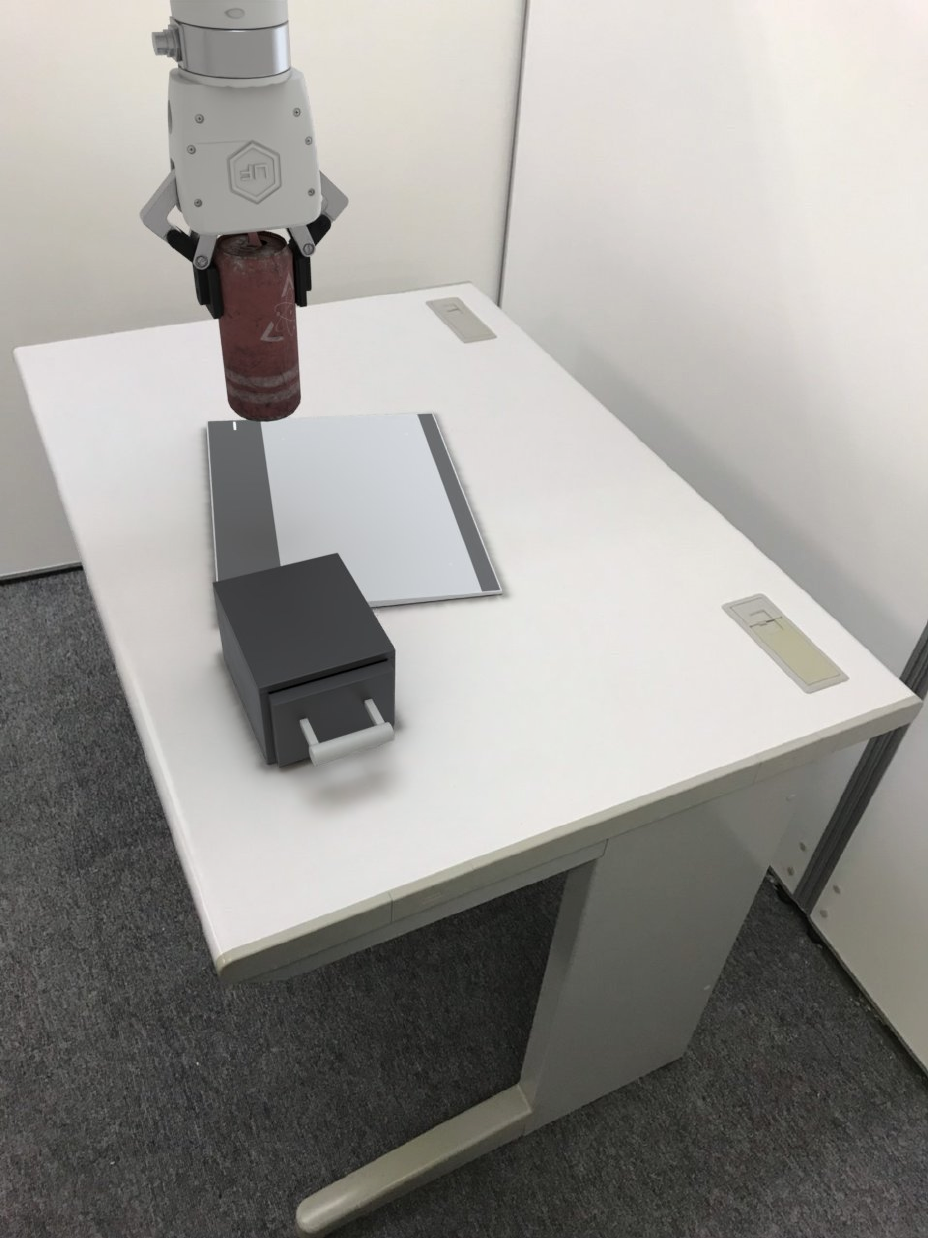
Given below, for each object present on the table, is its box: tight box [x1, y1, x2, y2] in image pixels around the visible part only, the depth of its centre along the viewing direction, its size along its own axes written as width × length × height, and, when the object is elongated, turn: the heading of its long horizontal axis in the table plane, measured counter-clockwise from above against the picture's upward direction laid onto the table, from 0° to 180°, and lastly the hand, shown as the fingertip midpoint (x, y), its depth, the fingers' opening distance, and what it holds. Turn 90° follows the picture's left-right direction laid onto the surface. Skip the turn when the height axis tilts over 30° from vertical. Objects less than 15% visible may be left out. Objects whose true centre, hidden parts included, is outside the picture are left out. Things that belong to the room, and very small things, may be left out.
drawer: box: [268, 661, 395, 767], centre depth 74 cm, size 15×9×7 cm, turn 26°
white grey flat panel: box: [205, 412, 503, 608], centre depth 98 cm, size 32×26×1 cm
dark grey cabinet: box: [211, 553, 397, 765], centre depth 76 cm, size 12×10×8 cm
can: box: [212, 230, 302, 422], centre depth 78 cm, size 6×6×14 cm
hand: (256, 303), depth 77 cm, fingers closed on can, 6 cm apart
